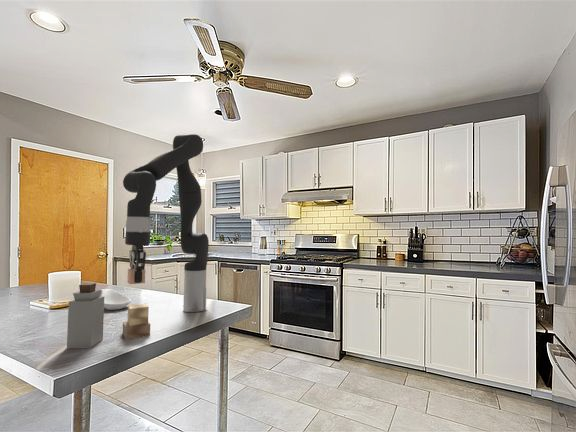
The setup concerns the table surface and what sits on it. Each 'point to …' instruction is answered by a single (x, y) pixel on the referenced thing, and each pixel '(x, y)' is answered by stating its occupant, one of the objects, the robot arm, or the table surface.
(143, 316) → the tower cube
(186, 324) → the table surface
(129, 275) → the block
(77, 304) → the perfume bottle
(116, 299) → the spoon rest
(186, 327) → the table surface
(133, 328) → the tower base
